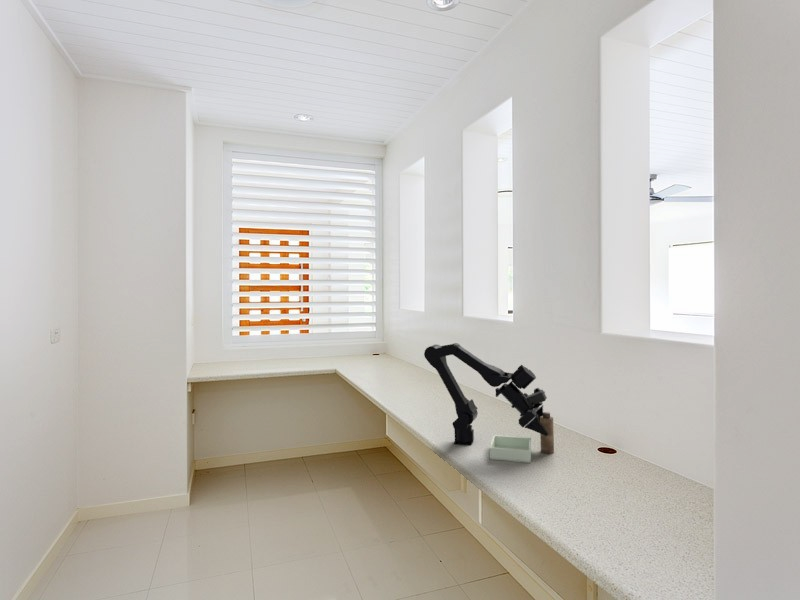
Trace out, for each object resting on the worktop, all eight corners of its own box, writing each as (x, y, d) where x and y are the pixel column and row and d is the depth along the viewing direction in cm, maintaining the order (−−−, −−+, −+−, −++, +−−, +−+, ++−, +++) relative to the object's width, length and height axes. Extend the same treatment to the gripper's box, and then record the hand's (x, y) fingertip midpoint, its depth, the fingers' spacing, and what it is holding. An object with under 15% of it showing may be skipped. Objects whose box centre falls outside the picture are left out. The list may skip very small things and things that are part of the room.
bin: (490, 459, 154) (489, 447, 154) (493, 446, 166) (493, 435, 166) (530, 462, 150) (530, 450, 150) (531, 448, 162) (531, 437, 162)
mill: (540, 453, 158) (539, 414, 157) (540, 448, 162) (539, 411, 162) (554, 454, 157) (553, 415, 156) (553, 449, 161) (552, 411, 160)
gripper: (527, 388, 152) (563, 423, 148) (535, 377, 169) (568, 409, 165) (504, 409, 156) (538, 445, 151) (514, 397, 173) (546, 428, 168)
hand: (549, 430), depth 159 cm, fingers open, 9 cm apart
